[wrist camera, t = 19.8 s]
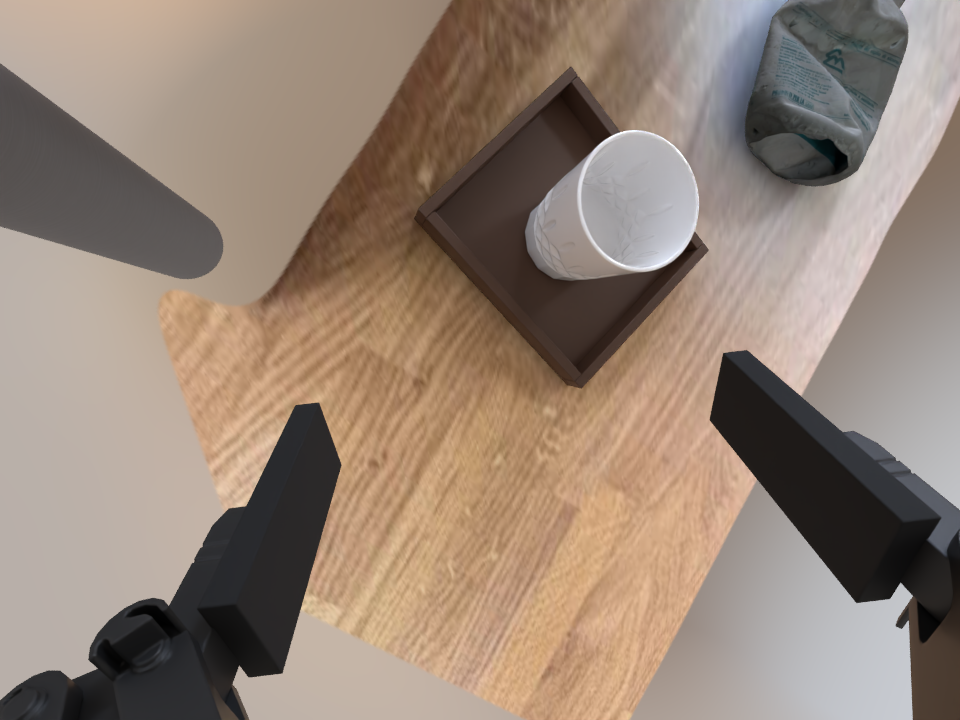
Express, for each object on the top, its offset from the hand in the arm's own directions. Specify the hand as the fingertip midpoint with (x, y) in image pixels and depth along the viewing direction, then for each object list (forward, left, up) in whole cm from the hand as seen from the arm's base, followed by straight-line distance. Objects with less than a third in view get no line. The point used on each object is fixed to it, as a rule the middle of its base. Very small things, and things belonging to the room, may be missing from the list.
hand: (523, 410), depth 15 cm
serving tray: (0, +14, -19) cm, 24 cm away
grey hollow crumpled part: (+5, +44, -20) cm, 48 cm away
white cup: (0, +14, -19) cm, 24 cm away
